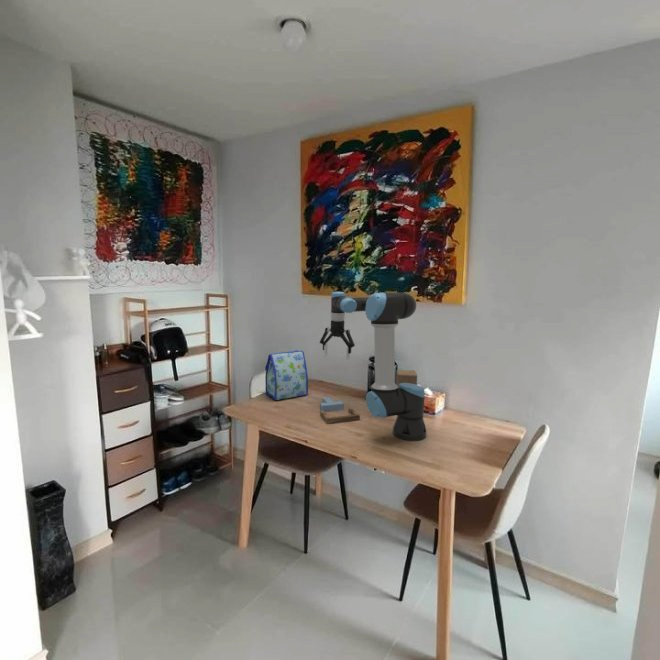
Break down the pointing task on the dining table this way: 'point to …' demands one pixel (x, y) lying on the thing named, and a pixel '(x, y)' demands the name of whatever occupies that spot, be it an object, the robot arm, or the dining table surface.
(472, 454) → the dining table surface
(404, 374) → the wooden block
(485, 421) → the dining table surface
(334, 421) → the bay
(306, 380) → the lunch bag
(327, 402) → the tee
